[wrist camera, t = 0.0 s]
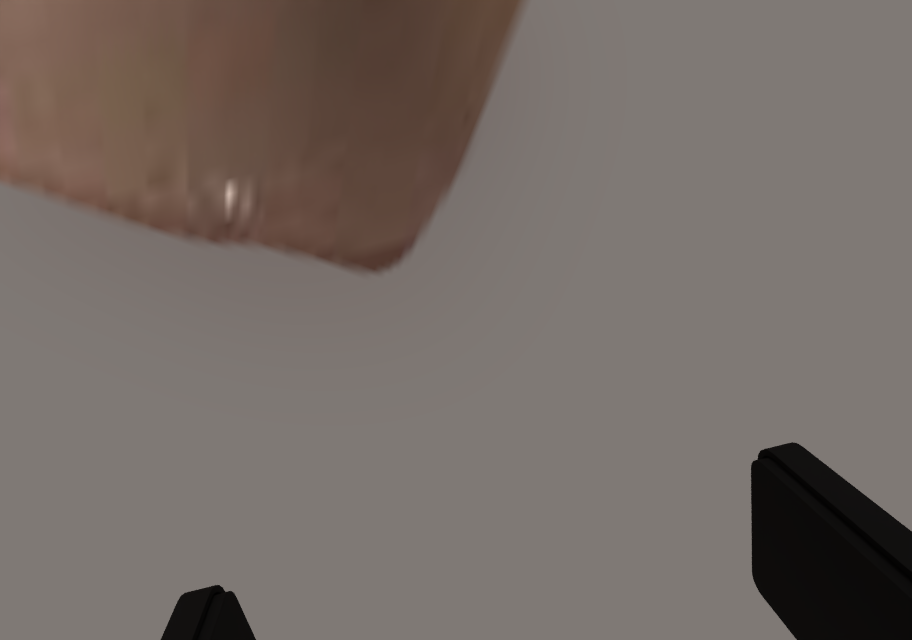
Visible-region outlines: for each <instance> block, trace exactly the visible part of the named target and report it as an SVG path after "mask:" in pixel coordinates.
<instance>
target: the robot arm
mask: <svg viewBox="0 0 912 640" xmlns="http://www.w3.org/2000/svg"><path fill="white" fill-rule="evenodd" d="M751 495H752V496H751V504H752V575H753V579H754V582H755V584H756V587H757V588H758V590H759V592H760V593H761V595H762V596H763V598H764V599H765V600H766V601H767V603H768V604H769V605H770V606H771V607H772V609H773V610H774V611H775V613H776V614H777V615H778V616H779V618H780V619H781V620H782V621H783V623H784V624H785V625H786V627H787V628H788V629H789V630H790V632H791V633H792V634H793V635H794V637H795V638H796V639H797V640H912V531H910V530H909V529H908V528H906V527H905V526H904V525H902V524H901V523H900V522H899V521H897V520H896V519H895V518H894V517H892V516H891V515H890V514H888V513H887V512H886V511H884V510H883V509H882V508H881V507H879V506H878V505H877V504H876V503H874V502H873V501H872V500H870V499H869V498H868V497H867V496H865V495H864V494H863V493H861V492H860V491H859V490H858V489H856V488H855V487H854V486H852V485H851V484H850V483H848V482H847V481H846V480H845V479H843V478H842V477H841V476H840V475H838V474H837V473H836V472H834V471H833V470H832V469H831V468H829V467H828V466H827V465H825V464H824V463H823V462H822V461H820V460H819V459H818V458H816V457H815V456H814V455H813V454H811V453H810V452H809V451H807V450H806V449H805V448H804V447H802V446H801V445H799V444H797V443H788V444H784V445H780V446H776V447H772V448H768V449H764V450H761V451H760V453H759V455H758V460H755V461H753V463H752V465H751ZM161 640H256V639H255V637H254V634H253V632H252V630H251V628H250V626H249V624H248V622H247V619H246V617H245V615H244V613H243V611H242V608H241V606H240V604H239V602H238V600H237V598H236V596H235V594H234V593H233V592H232V591H228V592H225V591H224V589H223V588H222V587H221V586H220V585H215V586H211V587H207V588H203V589H199V590H195V591H191V592H187V593H184V594H183V595H182V596H181V597H180V599H179V600H178V602H177V604H176V606H175V609H174V611H173V613H172V615H171V618H170V620H169V622H168V625H167V627H166V629H165V631H164V634H163V636H162V638H161Z"/></svg>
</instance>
